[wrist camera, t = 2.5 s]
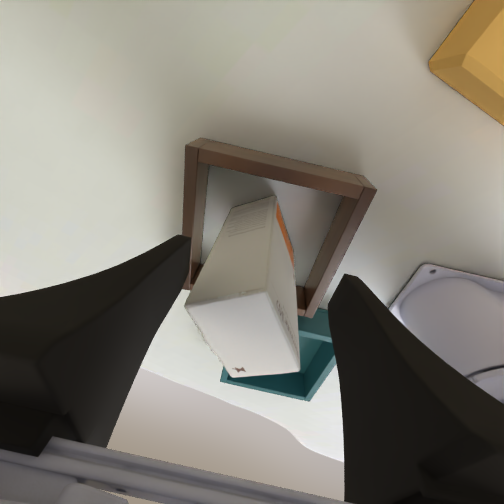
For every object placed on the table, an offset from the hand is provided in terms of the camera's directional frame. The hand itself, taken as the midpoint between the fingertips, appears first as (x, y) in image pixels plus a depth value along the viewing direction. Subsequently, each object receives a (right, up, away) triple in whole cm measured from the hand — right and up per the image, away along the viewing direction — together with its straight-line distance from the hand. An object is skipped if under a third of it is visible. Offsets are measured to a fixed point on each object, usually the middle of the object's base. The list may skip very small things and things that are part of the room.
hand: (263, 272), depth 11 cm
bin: (+3, -10, +18) cm, 21 cm away
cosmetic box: (+1, +3, +11) cm, 11 cm away
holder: (+1, +3, +10) cm, 11 cm away
